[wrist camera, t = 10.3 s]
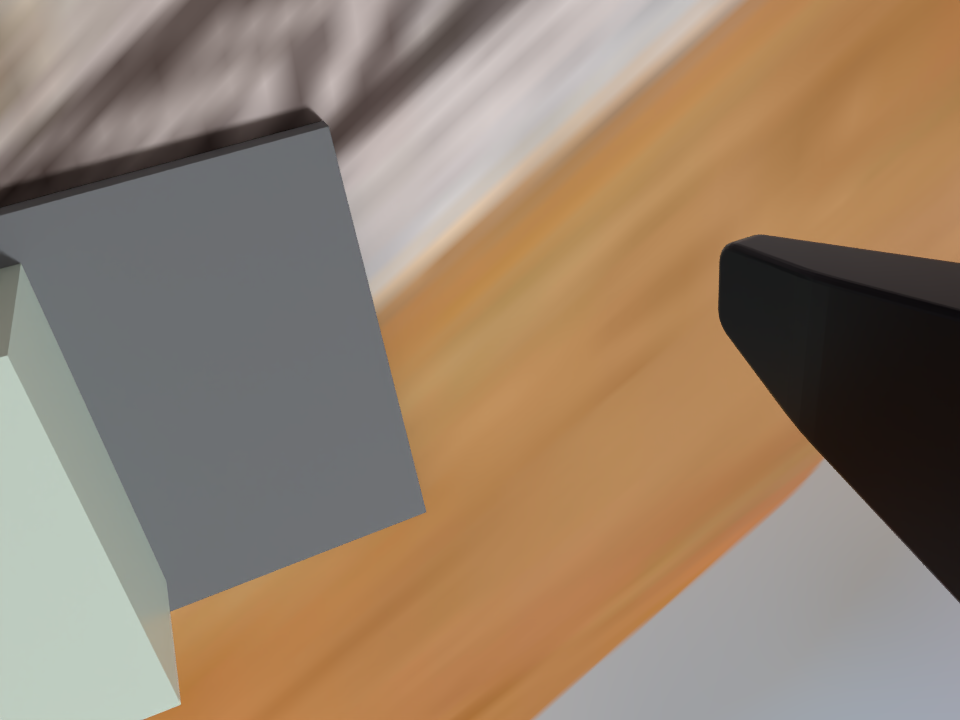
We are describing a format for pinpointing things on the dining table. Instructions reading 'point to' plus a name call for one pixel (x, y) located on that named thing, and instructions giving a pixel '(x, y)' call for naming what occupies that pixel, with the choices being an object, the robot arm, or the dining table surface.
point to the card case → (69, 547)
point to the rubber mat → (226, 354)
